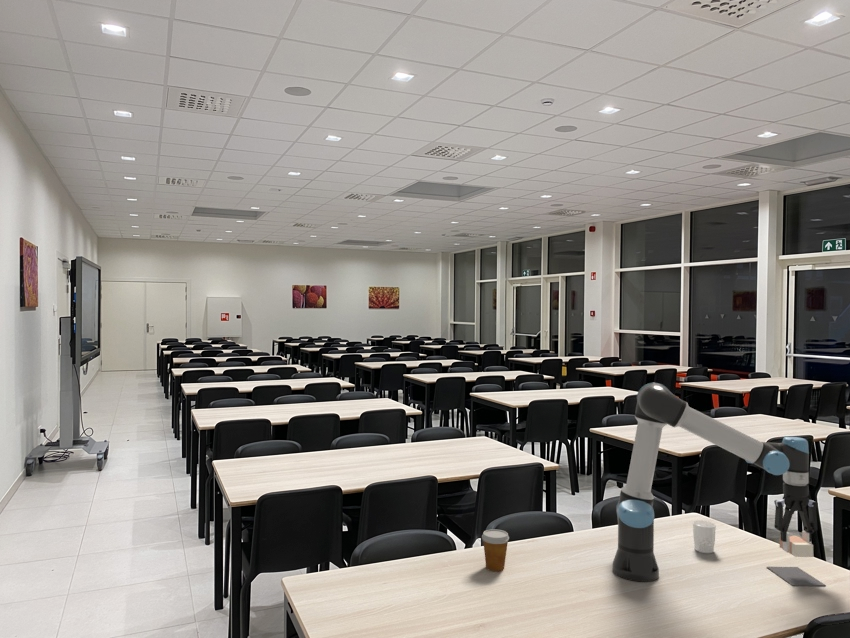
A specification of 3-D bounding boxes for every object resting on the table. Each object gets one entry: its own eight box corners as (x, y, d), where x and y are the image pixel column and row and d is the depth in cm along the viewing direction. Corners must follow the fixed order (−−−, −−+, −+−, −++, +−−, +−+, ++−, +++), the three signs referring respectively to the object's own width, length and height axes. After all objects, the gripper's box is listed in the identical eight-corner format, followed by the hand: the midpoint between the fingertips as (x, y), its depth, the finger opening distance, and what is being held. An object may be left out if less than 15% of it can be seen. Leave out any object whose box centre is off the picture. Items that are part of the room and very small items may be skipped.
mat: (792, 585, 201) (792, 584, 201) (766, 567, 216) (766, 566, 216) (825, 586, 201) (825, 585, 201) (797, 568, 216) (797, 566, 216)
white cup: (719, 554, 228) (719, 527, 228) (698, 553, 228) (698, 527, 228) (709, 546, 236) (710, 520, 236) (689, 546, 236) (689, 520, 236)
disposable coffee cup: (508, 563, 217) (508, 529, 217) (509, 574, 208) (509, 538, 208) (481, 561, 218) (481, 528, 218) (481, 572, 208) (481, 537, 209)
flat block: (779, 547, 213) (779, 535, 213) (796, 547, 213) (796, 535, 213) (795, 556, 204) (795, 544, 204) (813, 557, 204) (813, 544, 204)
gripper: (774, 486, 205) (774, 555, 205) (830, 486, 205) (831, 555, 205) (761, 480, 212) (762, 547, 212) (816, 480, 212) (816, 547, 212)
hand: (795, 550), depth 208 cm, fingers closed on flat block, 6 cm apart
